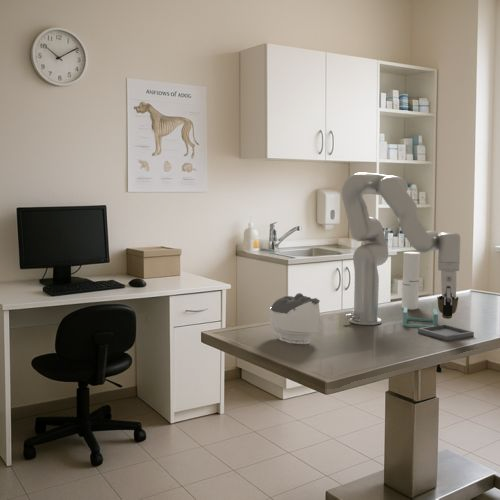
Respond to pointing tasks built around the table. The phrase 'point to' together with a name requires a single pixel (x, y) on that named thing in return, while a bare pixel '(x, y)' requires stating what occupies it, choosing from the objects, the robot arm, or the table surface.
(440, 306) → the cup
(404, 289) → the cylindrical container
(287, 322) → the white bowl with contents
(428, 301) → the table surface
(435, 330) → the tray
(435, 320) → the holder
